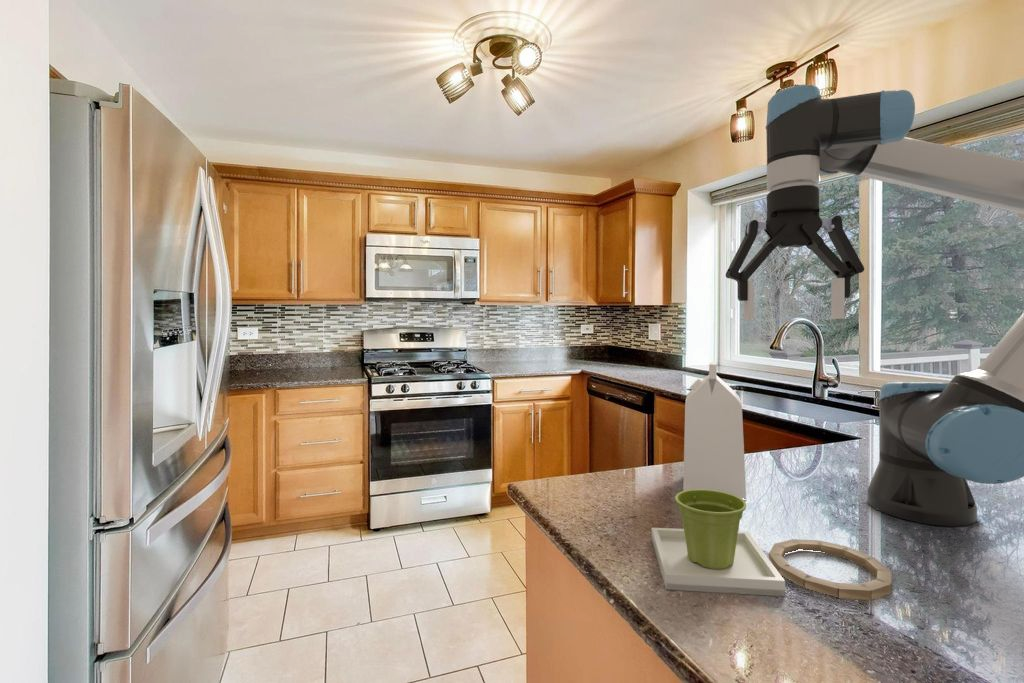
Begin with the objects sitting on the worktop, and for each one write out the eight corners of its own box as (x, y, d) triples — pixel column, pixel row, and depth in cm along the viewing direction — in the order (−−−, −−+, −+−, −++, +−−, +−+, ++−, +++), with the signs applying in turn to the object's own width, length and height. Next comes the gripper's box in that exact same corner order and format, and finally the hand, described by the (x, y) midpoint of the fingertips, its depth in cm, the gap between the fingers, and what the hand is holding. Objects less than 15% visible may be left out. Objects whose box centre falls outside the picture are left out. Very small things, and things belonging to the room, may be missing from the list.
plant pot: (670, 543, 76) (669, 487, 75) (734, 545, 75) (734, 489, 74) (683, 574, 67) (682, 511, 66) (756, 577, 65) (756, 513, 65)
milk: (746, 500, 95) (745, 366, 93) (683, 494, 99) (681, 365, 98) (742, 481, 106) (741, 360, 105) (685, 476, 110) (684, 360, 109)
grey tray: (748, 544, 77) (748, 531, 77) (785, 596, 62) (785, 580, 62) (651, 539, 79) (651, 527, 79) (665, 589, 64) (665, 574, 64)
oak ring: (855, 549, 74) (855, 541, 74) (917, 602, 60) (917, 593, 60) (756, 545, 76) (756, 537, 76) (794, 595, 62) (794, 586, 62)
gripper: (863, 190, 82) (863, 317, 83) (706, 199, 86) (707, 321, 86) (891, 177, 74) (890, 317, 75) (717, 188, 78) (718, 321, 79)
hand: (792, 320), depth 81 cm, fingers open, 13 cm apart
